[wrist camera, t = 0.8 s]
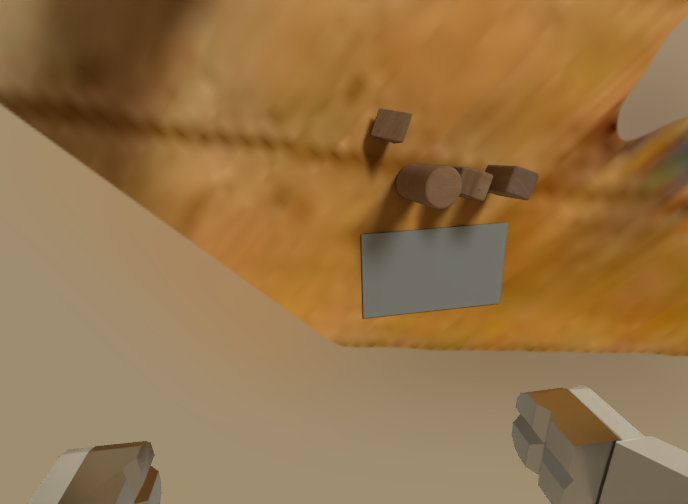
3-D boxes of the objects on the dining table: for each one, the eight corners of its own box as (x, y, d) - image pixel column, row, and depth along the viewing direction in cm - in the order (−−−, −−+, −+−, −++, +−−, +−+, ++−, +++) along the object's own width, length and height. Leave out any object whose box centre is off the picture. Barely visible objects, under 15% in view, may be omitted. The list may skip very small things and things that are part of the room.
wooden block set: (506, 157, 48) (563, 157, 38) (481, 222, 50) (530, 238, 40) (375, 110, 44) (401, 96, 34) (353, 181, 46) (371, 188, 36)
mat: (361, 234, 48) (361, 234, 48) (507, 222, 51) (508, 222, 51) (363, 317, 52) (363, 318, 52) (499, 302, 55) (499, 303, 55)
